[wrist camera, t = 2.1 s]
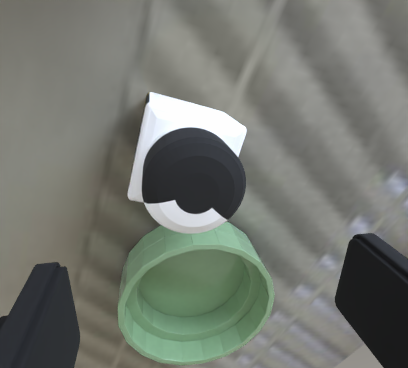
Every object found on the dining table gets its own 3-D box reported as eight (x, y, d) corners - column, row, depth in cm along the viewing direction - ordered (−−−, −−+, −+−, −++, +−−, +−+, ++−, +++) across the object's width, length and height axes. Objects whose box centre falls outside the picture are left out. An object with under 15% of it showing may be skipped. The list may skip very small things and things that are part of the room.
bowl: (281, 257, 34) (303, 291, 29) (198, 339, 37) (206, 381, 32) (182, 187, 29) (189, 213, 24) (94, 289, 32) (84, 332, 27)
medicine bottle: (147, 90, 25) (145, 114, 14) (225, 111, 27) (277, 147, 16) (131, 167, 27) (119, 239, 16) (204, 182, 29) (236, 255, 18)
